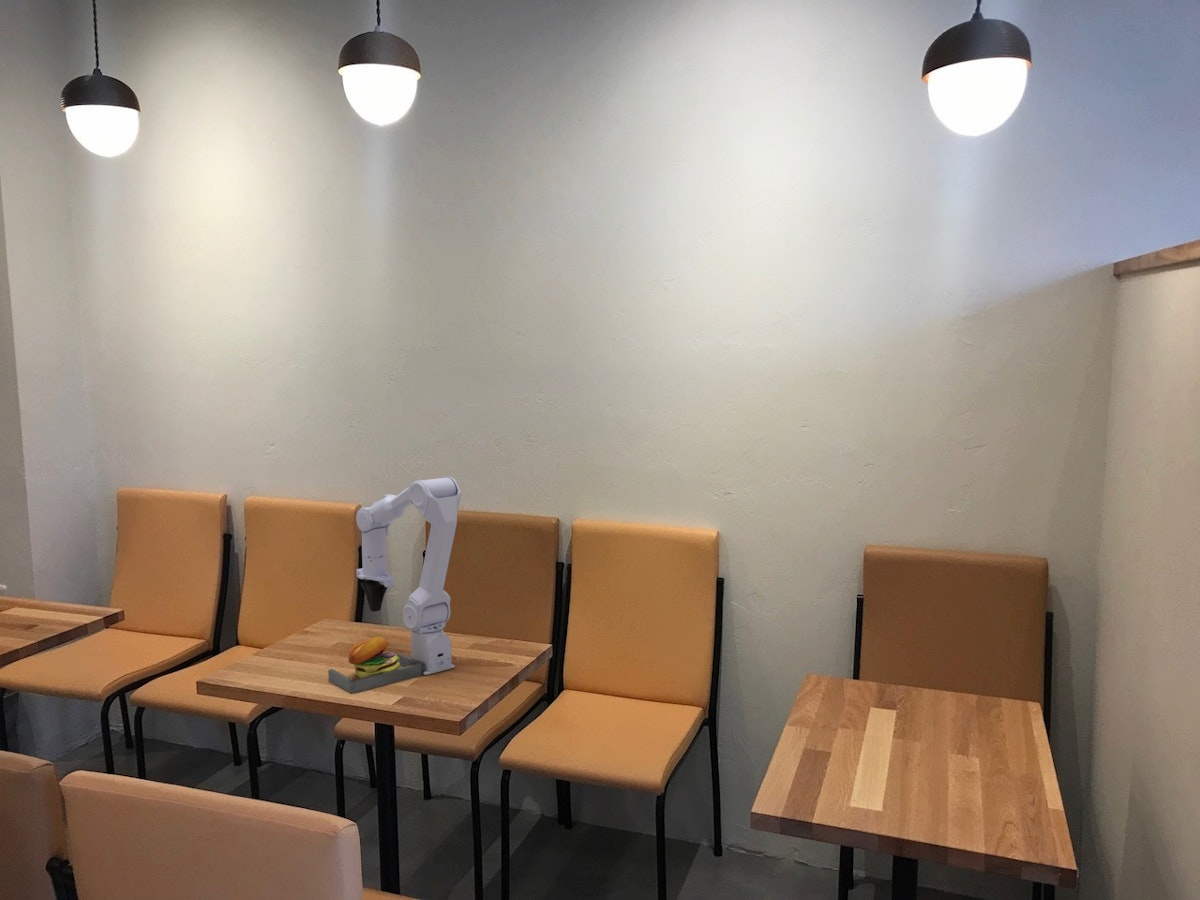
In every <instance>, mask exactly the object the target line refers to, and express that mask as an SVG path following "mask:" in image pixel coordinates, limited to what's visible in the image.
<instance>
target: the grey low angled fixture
mask: <svg viewBox="0 0 1200 900" xmlns="http://www.w3.org/2000/svg"><path fill="white" fill-rule="evenodd" d="M396 655H397V656H398V657H399V661H398V662H399V663H400V667H401V668H399V669H395V670H391V671H387V672H383V673H379V674H375V675H371V676H367V677H363V678H356V679H353V678H351V677H349V676H347V675H345V674H343V673H342V672H339V671H338V670H335V669H333V668H330V669H328V671H327V672H328V673H327V675H328V676H327V677H328V682H330V683H331V684H333V685H335V686H337V687H339V689H343V690H344V691H346V692H348V693H350V694H351V695H352V694H355V693H360V692H363V691H367V690H371V689H374V688H375V689H376V688H378V687H382V686H386V685H390V684H394V683H398V682H401V681H405V680H409V679H413V678H417V677H421V676H425V675H424V674H423V672H425V664H424V663H422V662H420V661H418V660H415V659H413V658H412V657H411V656H408V655H406V654H404V653H402V652H398V653H396Z"/></svg>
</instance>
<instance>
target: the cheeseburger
mask: <svg viewBox="0 0 1200 900" xmlns="http://www.w3.org/2000/svg"><path fill="white" fill-rule="evenodd" d="M389 645H390V642H389V641H388V640H387V639H385V638H384V637H381V636H374V637H372V638H370V639H366V640H363V641H360V642H358V643H355V644H354V645H352V646H351V648H350V650H349V654H348V663H349V664H351V665H354V669H355V670H354V672H355V675H356V676H357V679H359V678H363V677H367V676H371V675H375V674H379V673H383V672H387V671H391V670H395V669H399V668H402V666H400V663H399V662H398V661H399V657H398V656H397V654H396V653H395V652H385V651H386V649H387V647H389ZM384 652H385V653H384Z"/></svg>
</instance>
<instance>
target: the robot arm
mask: <svg viewBox="0 0 1200 900" xmlns="http://www.w3.org/2000/svg"><path fill="white" fill-rule="evenodd" d="M461 497H462V491H461V489H460V487H459V483H458V482H457V480H456V479H455V478H454V477H451V476H444V477H441V478H440V477H438V478H432V479H423V480H422V479H418V480H415V481H413V482H411V483H409V485H408V487H406V488H404V489H403V491H401V492H400V493H399V494H397V495H396V494H391V493H388V494H386V493H385V494H383V496H382V498H381V499H380V500H378V501H374V502H373V503H372V505H371V506H369V507H368V506H367V507H366V506H365V507H360V508H359V509H358V510H357V513H356V514H355V515H356V517H355V520H356V526H357V528H358V529H359V530H360V531H361V558H362V559H361V560H362V561H361V562H362V564H361V565H362V568H356V577H357V578H358V579H360V580H365V581H362V582H360V587H361V588H362V590H363V592H364V594H365V596H366V600H367V604H368V607H369V611H370V612H372V613H373V612H379V611H381V609H382V604H383V601H384V598H385V597H384V596H385V595H386V592H387V590H388V588H389V587H394V584H395V583H394V582H395V580H394V577H393V576H391V575H390V574H389V573H388V572H387V571H388V570H387V536H388V534H389V528H390V526H391V523H392V522H393V521H395V520H397V519H399V518H400V517H401V516H403V515H404V513H405V509H406V508H408V507H410V506H412V505H413V506H414V507H415V509H417V512H418V513H419V515H420V516H421V517H422V519H423V521H425V522H428V523H429V524H430V530H429V534H428V539H427V544H426V551H425V553H424V554H425V556H424V559H423V565H422V569H421V574H420V575H421V576H420V579H419V585H418V587H417V588H416V589H415V590H414V591H413V592H412V593H410V595H409V596H408V600H407V601H406V604H405V605H404V607H403V610H402V619H403V623H404V625H405V626H406V628H407V629H408V630H409V631H410V634H411V635H410V644H411V645H410V646H411V648H410V649H411V650H410V651H411V656H410V657H411V658H413V659H415V660H418V661H420V662H422V663H424V664H425V672H423V674H424V675H423V676H427V675H431V674H435V673H440V672H442V671H443V672H444V671H447V670H451V669H454V668H455V667H456V665H454V664H452V641H451V638H450V637H449V636H448V635H447V634H446V633H445V631H444V628H446V623H447V622H448V621H449V620H450V617H451V596H450V594H449V593H448V592H447V591H446V590H444V587H445V582H446V577H447V573H448V567H449V563H450V560H451V552H452V548H453V544H454V539H455V536H456V535H455V534H456V529H457V523H458V513H459V512H458V511H459V507H460V501H461V499H462V498H461Z"/></svg>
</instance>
